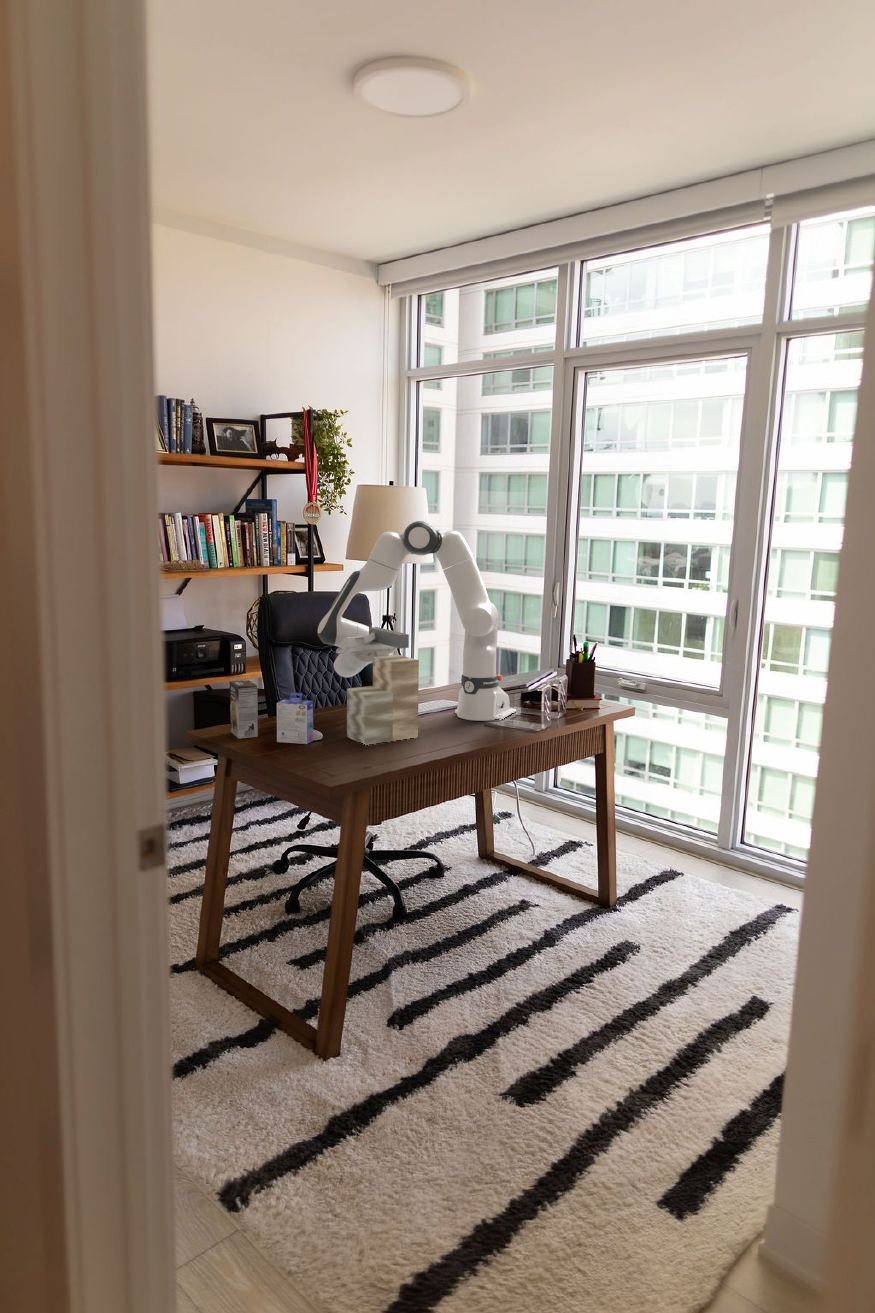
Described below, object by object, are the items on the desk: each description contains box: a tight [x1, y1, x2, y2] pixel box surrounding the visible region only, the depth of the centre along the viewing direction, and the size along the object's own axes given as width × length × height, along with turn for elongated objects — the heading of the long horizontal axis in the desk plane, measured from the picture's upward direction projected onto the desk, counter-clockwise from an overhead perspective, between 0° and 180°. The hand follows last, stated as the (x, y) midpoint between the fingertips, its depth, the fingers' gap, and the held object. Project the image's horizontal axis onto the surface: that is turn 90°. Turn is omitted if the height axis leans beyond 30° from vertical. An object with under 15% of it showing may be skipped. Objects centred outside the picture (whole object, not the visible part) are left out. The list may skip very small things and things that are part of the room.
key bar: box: [369, 626, 410, 649], centre depth 273 cm, size 19×3×4 cm, turn 34°
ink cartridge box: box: [276, 692, 314, 745], centre depth 265 cm, size 10×6×14 cm, turn 78°
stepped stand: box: [346, 654, 420, 746], centre depth 270 cm, size 12×18×24 cm, turn 124°
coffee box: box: [228, 679, 259, 739], centre depth 272 cm, size 9×6×16 cm
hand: (381, 634), depth 277 cm, fingers closed on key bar, 3 cm apart
